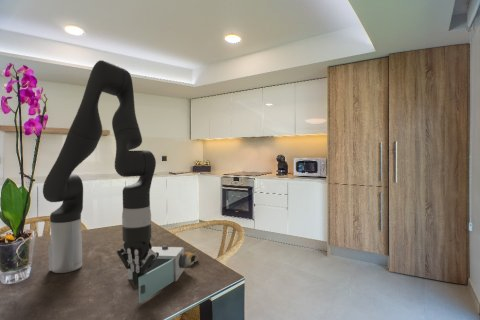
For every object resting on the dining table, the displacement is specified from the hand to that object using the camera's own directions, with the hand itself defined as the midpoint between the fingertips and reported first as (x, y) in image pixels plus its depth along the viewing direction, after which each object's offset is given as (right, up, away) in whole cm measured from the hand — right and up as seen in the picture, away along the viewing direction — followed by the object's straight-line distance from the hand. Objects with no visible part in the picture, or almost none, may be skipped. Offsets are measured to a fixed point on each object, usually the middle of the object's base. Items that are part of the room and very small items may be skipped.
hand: (138, 284), depth 80 cm
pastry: (+8, -4, +26) cm, 27 cm away
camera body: (+1, -4, +15) cm, 16 cm away
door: (+5, -3, +3) cm, 7 cm away
